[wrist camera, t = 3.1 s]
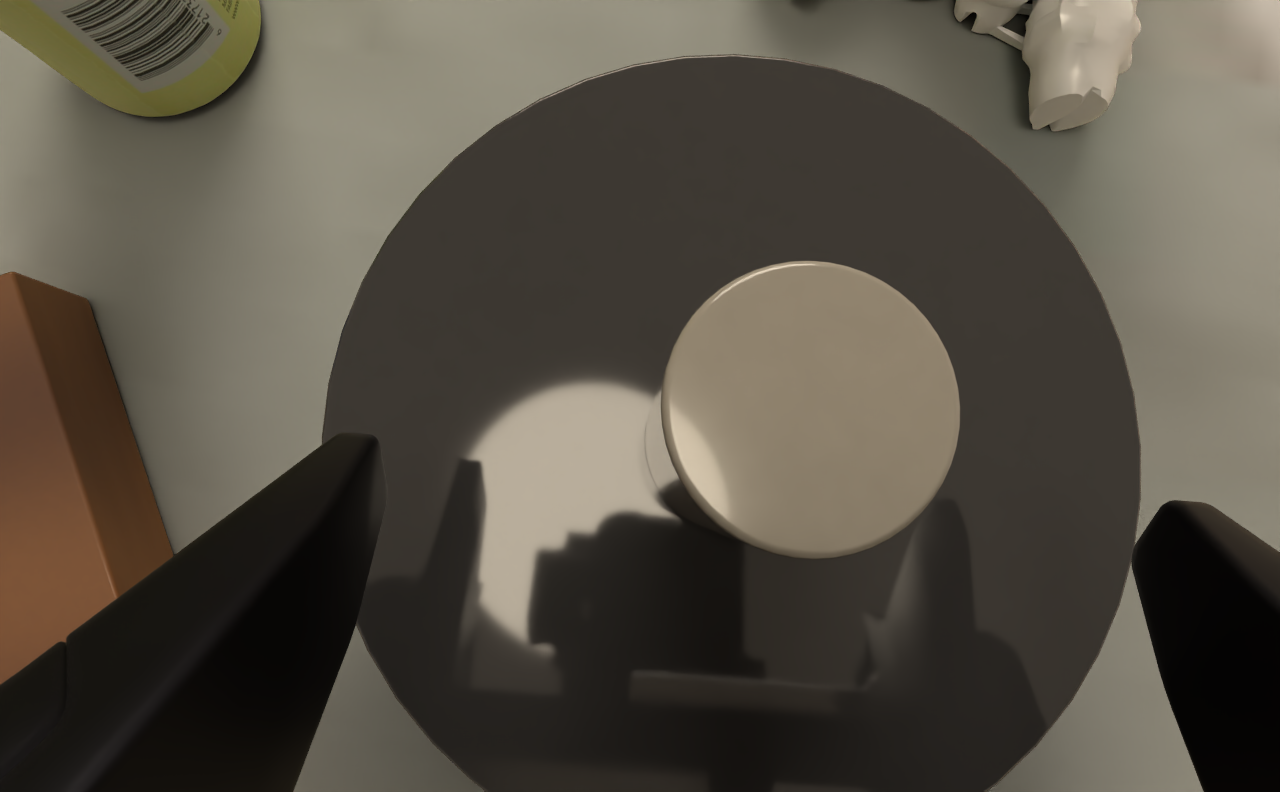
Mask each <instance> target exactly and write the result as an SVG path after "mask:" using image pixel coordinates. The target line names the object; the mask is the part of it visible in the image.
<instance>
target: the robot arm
mask: <svg viewBox="0 0 1280 792" xmlns="http://www.w3.org/2000/svg"><path fill="white" fill-rule="evenodd" d="M386 501H387V484H386V478H385V472H384V466H383V460H382V454H381V448H380V444H379V441H378V439H377V438H376V437H375V436H373V435H371V434H360V433H348V432H343V433H339V434H337V435H335V436H333V437H332V438H331V439H329V440H328V441H327V442H325V443H324V444H323V445H321V446H320V447H319V448H317V449H316V450H315V451H313V452H312V453H311V454H309V455H308V456H307V457H305V458H304V459H303V460H301V461H300V462H299V463H297V464H296V465H295V466H293V467H292V468H291V469H289V470H288V471H287V472H285V473H284V474H283V475H281V476H280V477H279V478H277V479H276V480H275V481H273V482H272V483H271V484H269V485H268V486H267V487H265V488H264V489H262V490H261V491H260V492H258V493H257V494H256V495H254V496H253V497H252V498H250V499H249V500H248V501H246V502H245V503H244V504H242V505H241V506H240V507H238V508H237V509H236V510H234V511H233V512H232V513H230V514H229V515H228V516H226V517H225V518H224V519H222V520H221V521H220V522H218V523H217V524H216V525H214V526H213V527H212V528H210V529H209V530H208V531H206V532H205V533H204V534H202V535H201V536H200V537H198V538H197V539H196V540H194V541H193V542H192V543H190V544H189V545H188V546H186V547H185V548H184V549H182V550H181V551H180V552H178V553H177V554H176V555H174V556H173V557H172V558H170V559H169V560H168V561H166V562H165V563H164V564H162V565H161V566H160V567H158V568H157V569H156V570H154V571H153V572H152V573H150V574H149V575H148V576H146V577H145V578H144V579H142V580H141V581H140V582H138V583H137V584H136V585H134V586H133V587H131V588H130V589H129V590H127V591H126V592H125V593H123V594H122V595H121V596H119V597H118V598H117V599H115V600H114V601H113V602H111V603H110V604H109V605H107V606H106V607H105V608H103V609H102V610H101V611H99V612H98V613H97V614H95V615H94V616H93V617H91V618H90V619H89V620H87V621H86V622H85V623H83V624H82V625H81V626H79V627H78V628H77V629H75V630H74V631H73V632H71V633H70V634H69V635H68V636H67V638H66V642H62V641H60V642H58V643H56V644H55V645H54V646H52V647H51V648H49V649H48V650H47V651H45V652H44V653H43V654H41V655H40V656H39V657H37V658H36V659H35V660H33V661H32V662H31V663H29V664H28V665H27V666H25V667H24V668H23V669H21V670H20V671H19V672H17V673H16V674H14V675H13V676H12V677H10V678H9V679H7V680H6V681H5V682H3V683H2V684H0V792H293V790H294V788H295V785H296V782H297V780H298V777H299V775H300V772H301V769H302V767H303V764H304V761H305V759H306V756H307V754H308V751H309V748H310V746H311V743H312V740H313V738H314V735H315V733H316V730H317V727H318V725H319V722H320V719H321V717H322V714H323V711H324V709H325V706H326V704H327V701H328V698H329V696H330V693H331V690H332V688H333V685H334V683H335V680H336V677H337V675H338V672H339V669H340V667H341V664H342V661H343V659H344V656H345V654H346V651H347V648H348V646H349V643H350V640H351V637H352V634H353V631H354V628H355V626H356V622H357V618H358V615H359V611H360V607H361V603H362V599H363V595H364V591H365V587H366V583H367V579H368V575H369V571H370V567H371V563H372V559H373V555H374V551H375V547H376V543H377V539H378V535H379V531H380V527H381V523H382V519H383V515H384V511H385V507H386ZM1131 560H1132V570H1133V573H1134V577H1135V581H1136V585H1137V589H1138V592H1139V596H1140V600H1141V604H1142V607H1143V611H1144V615H1145V619H1146V623H1147V626H1148V630H1149V634H1150V638H1151V641H1152V645H1153V649H1154V653H1155V656H1156V660H1157V664H1158V668H1159V671H1160V675H1161V678H1162V681H1163V685H1164V688H1165V691H1166V694H1167V697H1168V699H1169V702H1170V705H1171V708H1172V711H1173V713H1174V716H1175V718H1176V721H1177V724H1178V726H1179V729H1180V731H1181V734H1182V737H1183V739H1184V742H1185V744H1186V747H1187V750H1188V752H1189V755H1190V757H1191V760H1192V763H1193V765H1194V768H1195V770H1196V773H1197V776H1198V778H1199V781H1200V784H1201V786H1202V789H1203V791H1204V792H1280V552H1278V551H1277V550H1275V549H1274V548H1272V547H1271V546H1270V545H1268V544H1267V543H1265V542H1264V541H1262V540H1261V539H1259V538H1258V537H1257V536H1255V535H1254V534H1252V533H1251V532H1249V531H1248V530H1246V529H1245V528H1243V527H1242V526H1241V525H1239V524H1238V523H1236V522H1235V521H1233V520H1232V519H1230V518H1229V517H1228V516H1226V515H1225V514H1223V513H1222V512H1220V511H1219V510H1217V509H1216V508H1214V507H1213V506H1211V505H1209V504H1206V503H1202V502H1190V501H1178V500H1173V501H1169V502H1167V503H1165V504H1164V505H1162V506H1161V508H1160V509H1159V510H1158V512H1157V513H1156V515H1155V516H1154V518H1153V519H1152V520H1151V522H1150V523H1149V525H1148V526H1147V528H1146V529H1145V531H1144V532H1143V534H1142V535H1141V537H1140V538H1139V540H1138V541H1137V543H1136V544H1135V546H1134V549H1133V552H1132V559H1131Z"/></svg>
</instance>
